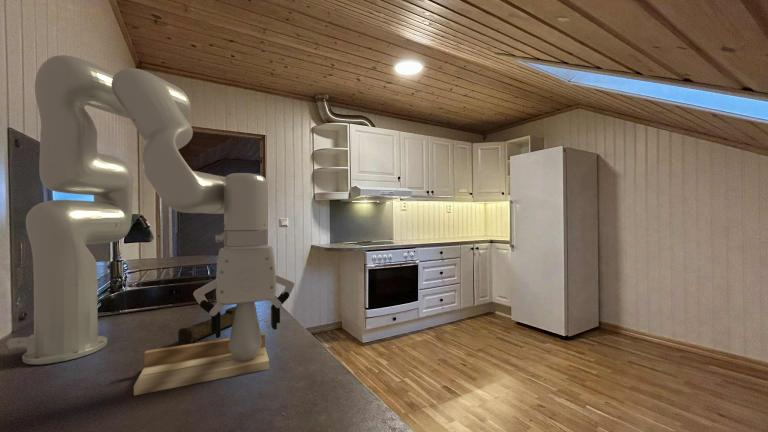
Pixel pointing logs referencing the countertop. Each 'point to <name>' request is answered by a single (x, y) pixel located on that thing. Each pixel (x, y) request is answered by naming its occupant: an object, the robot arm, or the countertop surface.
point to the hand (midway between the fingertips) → (247, 331)
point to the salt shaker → (245, 333)
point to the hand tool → (204, 328)
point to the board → (194, 365)
